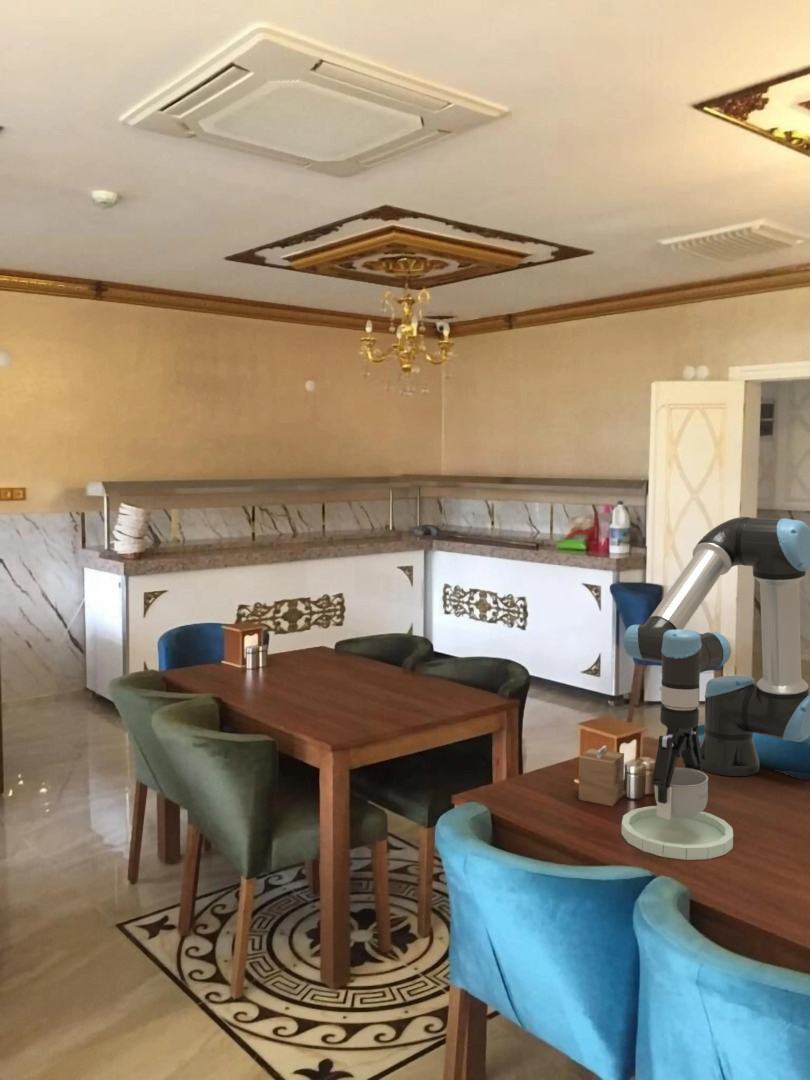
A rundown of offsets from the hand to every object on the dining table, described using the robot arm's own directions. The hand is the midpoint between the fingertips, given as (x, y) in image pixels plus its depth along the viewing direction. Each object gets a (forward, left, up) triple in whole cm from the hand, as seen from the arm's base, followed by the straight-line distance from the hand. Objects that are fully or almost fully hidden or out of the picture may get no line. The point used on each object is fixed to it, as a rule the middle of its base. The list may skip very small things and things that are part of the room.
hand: (676, 809), depth 191 cm
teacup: (-1, 0, -1) cm, 1 cm away
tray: (0, 0, -6) cm, 6 cm away
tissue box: (-10, -23, -6) cm, 26 cm away
